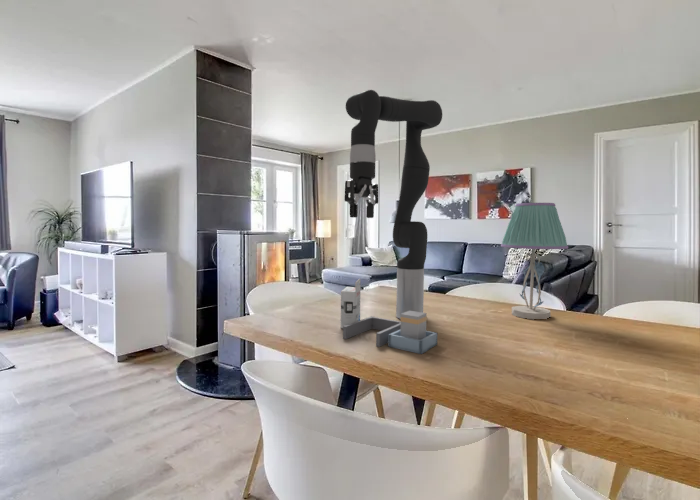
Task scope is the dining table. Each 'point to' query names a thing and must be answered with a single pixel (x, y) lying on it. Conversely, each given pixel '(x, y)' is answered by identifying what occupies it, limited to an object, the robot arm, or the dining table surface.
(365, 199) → the robot arm
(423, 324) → the tan-banded grey block
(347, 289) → the ink box
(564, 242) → the table lamp
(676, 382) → the dining table surface
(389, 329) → the bay
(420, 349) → the tray
